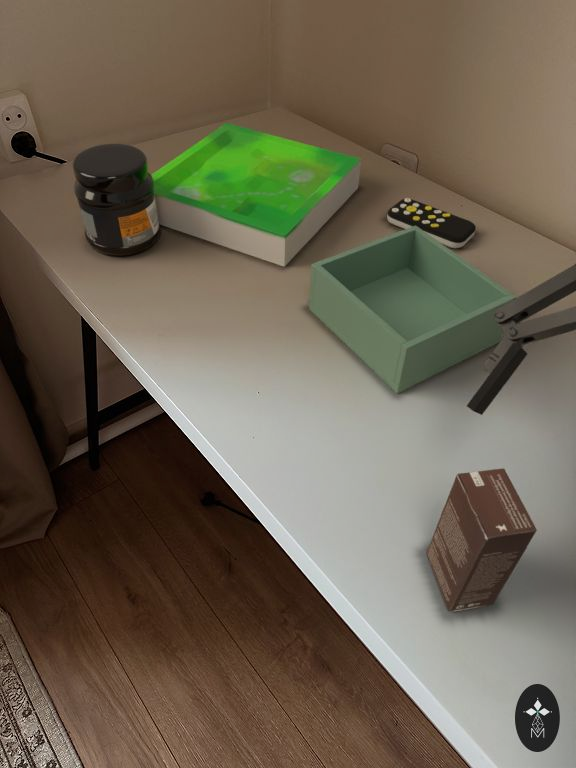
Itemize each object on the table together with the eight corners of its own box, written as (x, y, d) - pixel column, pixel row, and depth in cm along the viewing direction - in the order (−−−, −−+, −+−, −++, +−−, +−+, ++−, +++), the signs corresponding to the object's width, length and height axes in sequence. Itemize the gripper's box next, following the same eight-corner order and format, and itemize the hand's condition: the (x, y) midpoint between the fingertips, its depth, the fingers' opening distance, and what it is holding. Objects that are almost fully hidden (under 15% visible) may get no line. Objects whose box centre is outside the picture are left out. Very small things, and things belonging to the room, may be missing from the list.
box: (497, 604, 55) (540, 531, 46) (447, 613, 54) (482, 540, 45) (470, 543, 59) (505, 465, 50) (424, 550, 58) (451, 473, 49)
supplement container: (175, 241, 92) (165, 163, 83) (109, 268, 87) (92, 188, 78) (137, 210, 97) (124, 134, 88) (73, 234, 92) (53, 155, 84)
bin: (500, 341, 78) (516, 296, 73) (397, 394, 72) (406, 348, 67) (407, 269, 88) (415, 225, 83) (308, 308, 82) (311, 263, 77)
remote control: (458, 252, 91) (461, 240, 90) (382, 222, 96) (384, 210, 95) (477, 234, 95) (480, 222, 93) (403, 205, 100) (405, 194, 99)
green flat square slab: (227, 151, 111) (226, 122, 108) (358, 188, 103) (361, 159, 100) (138, 217, 96) (133, 186, 92) (284, 266, 88) (285, 235, 84)
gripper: (897, 330, 44) (693, 564, 48) (577, 187, 57) (436, 381, 61) (933, 301, 38) (695, 573, 42) (564, 147, 51) (408, 366, 54)
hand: (541, 459), depth 51 cm, fingers open, 13 cm apart
